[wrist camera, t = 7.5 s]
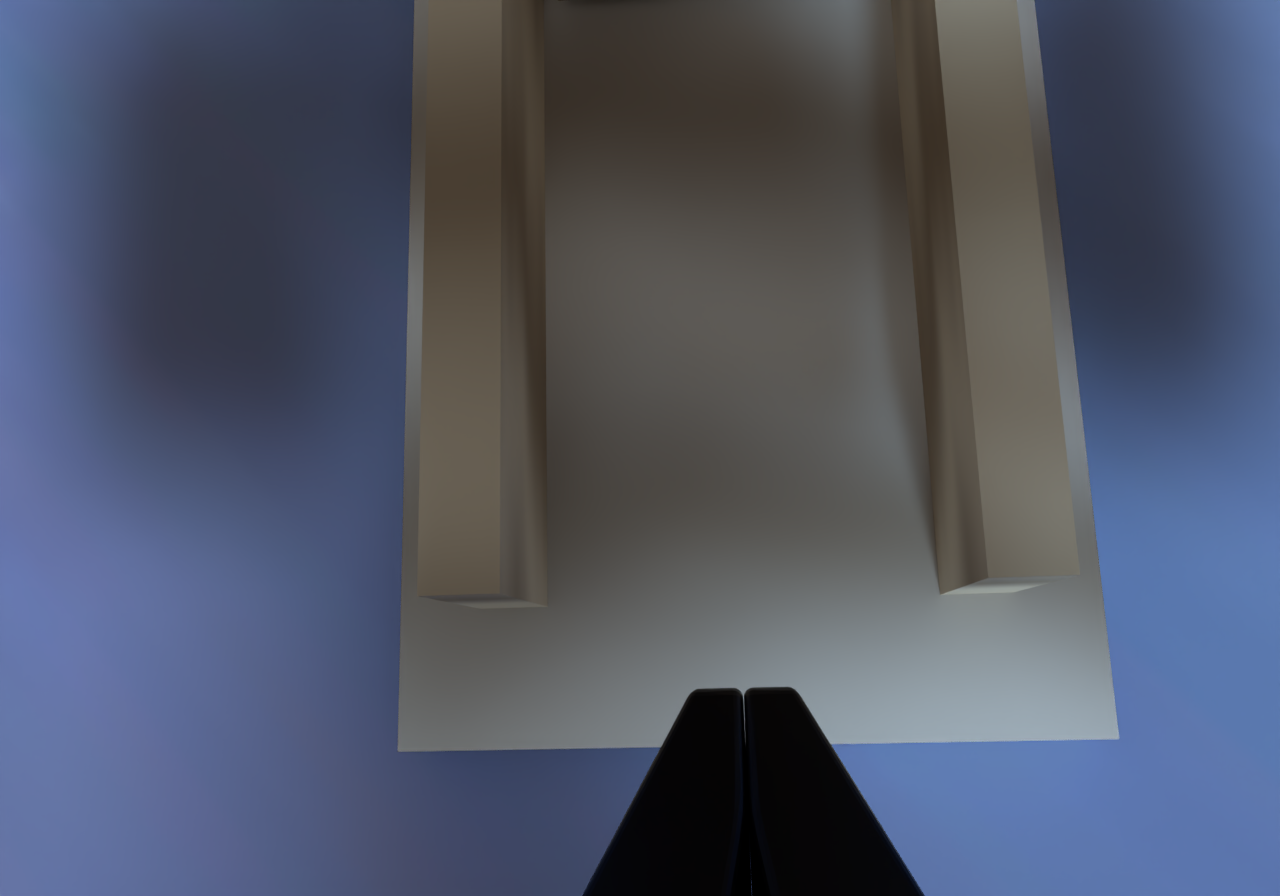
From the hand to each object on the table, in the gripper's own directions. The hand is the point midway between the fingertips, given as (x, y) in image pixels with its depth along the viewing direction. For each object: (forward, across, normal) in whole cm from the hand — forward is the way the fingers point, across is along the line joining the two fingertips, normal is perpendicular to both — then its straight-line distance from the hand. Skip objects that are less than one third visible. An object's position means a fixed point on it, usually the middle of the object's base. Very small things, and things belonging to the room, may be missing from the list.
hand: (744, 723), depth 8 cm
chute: (+11, 0, -1) cm, 11 cm away
